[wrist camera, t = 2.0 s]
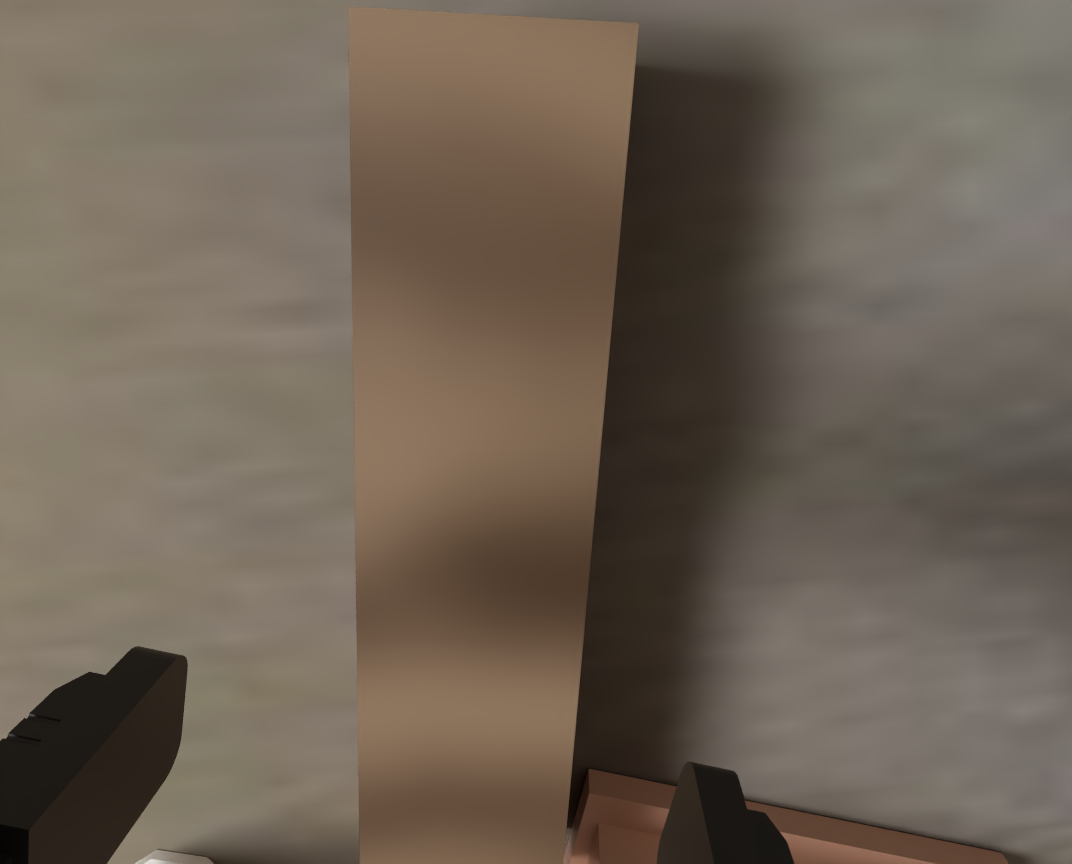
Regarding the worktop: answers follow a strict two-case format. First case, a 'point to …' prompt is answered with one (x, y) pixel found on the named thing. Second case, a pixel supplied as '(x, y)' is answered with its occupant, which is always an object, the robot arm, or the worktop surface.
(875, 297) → the worktop surface
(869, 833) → the ridge
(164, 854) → the cup
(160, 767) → the robot arm
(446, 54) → the walnut bar
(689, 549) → the worktop surface
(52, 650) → the worktop surface
